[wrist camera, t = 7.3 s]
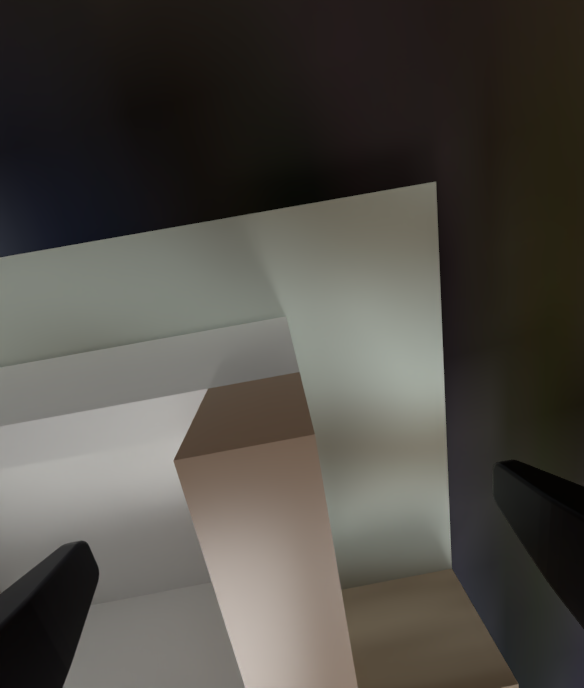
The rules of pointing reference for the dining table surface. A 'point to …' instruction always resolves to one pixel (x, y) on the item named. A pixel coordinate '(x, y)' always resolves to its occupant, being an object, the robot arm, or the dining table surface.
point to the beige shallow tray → (309, 388)
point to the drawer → (180, 509)
